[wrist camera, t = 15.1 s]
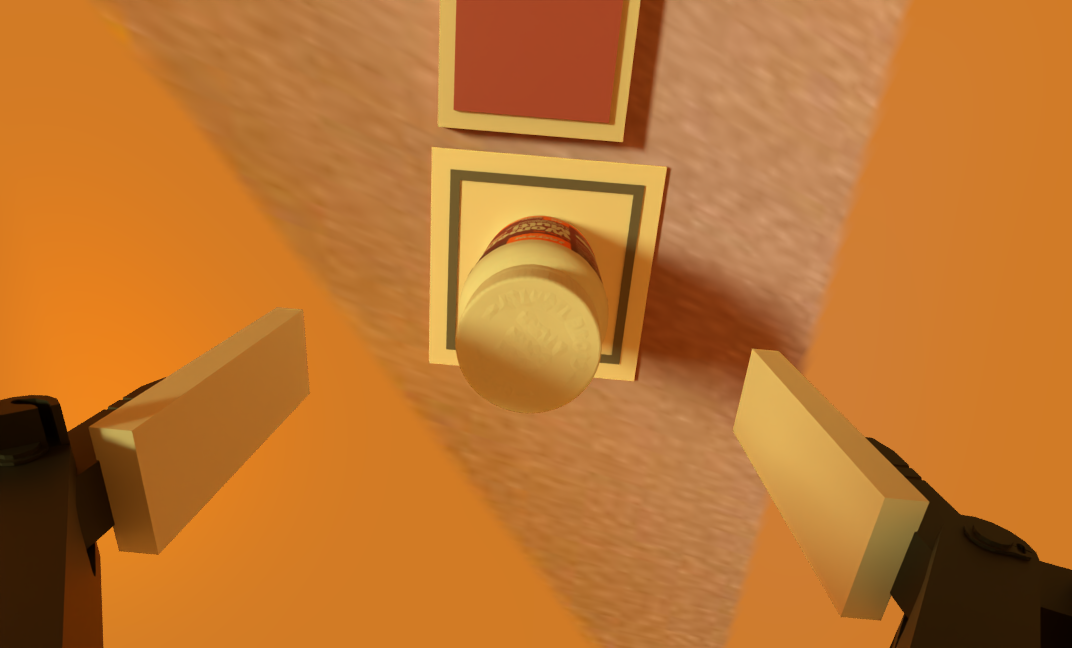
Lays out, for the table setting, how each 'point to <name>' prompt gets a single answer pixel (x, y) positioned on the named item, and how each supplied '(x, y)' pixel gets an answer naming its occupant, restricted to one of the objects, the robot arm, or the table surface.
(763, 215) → the table surface
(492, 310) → the pill bottle
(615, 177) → the paper sheet
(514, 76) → the pad
